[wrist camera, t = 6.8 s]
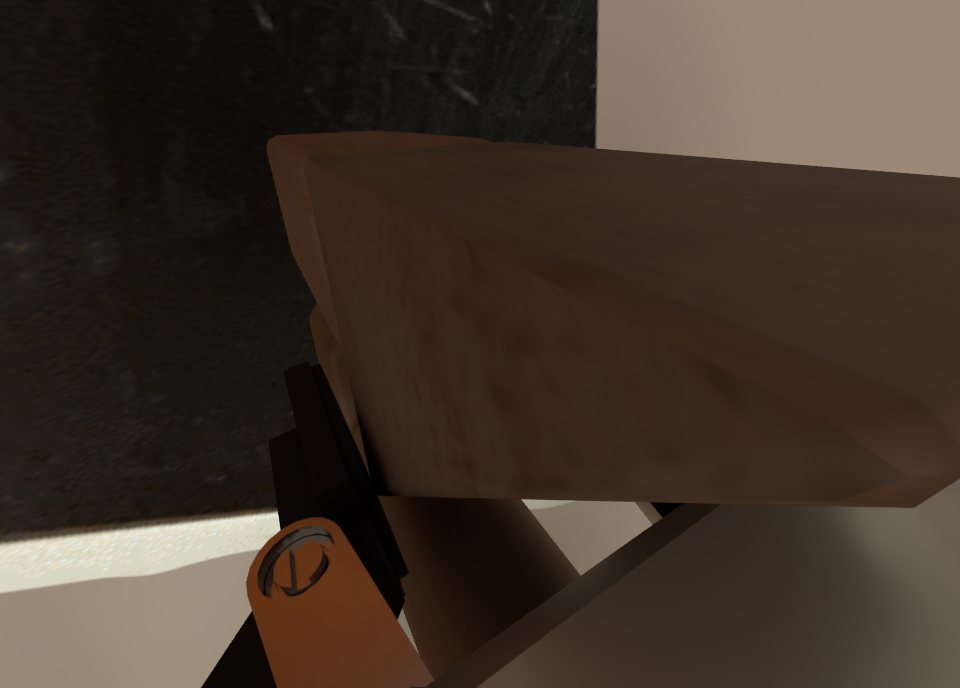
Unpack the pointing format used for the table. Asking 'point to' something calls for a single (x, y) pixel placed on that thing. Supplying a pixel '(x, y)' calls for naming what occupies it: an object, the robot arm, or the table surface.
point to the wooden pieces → (615, 343)
